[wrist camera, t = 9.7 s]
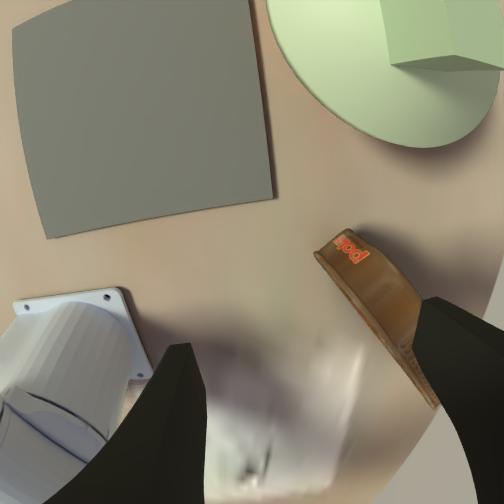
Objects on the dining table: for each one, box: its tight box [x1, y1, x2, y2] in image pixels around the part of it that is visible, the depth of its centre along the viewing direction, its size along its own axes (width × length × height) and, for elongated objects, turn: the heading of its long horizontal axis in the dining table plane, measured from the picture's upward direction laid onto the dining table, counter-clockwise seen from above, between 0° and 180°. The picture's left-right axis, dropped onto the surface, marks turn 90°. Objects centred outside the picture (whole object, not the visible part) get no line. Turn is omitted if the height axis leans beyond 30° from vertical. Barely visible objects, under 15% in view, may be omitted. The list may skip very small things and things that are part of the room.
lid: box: [266, 0, 504, 148], centre depth 8 cm, size 12×12×5 cm
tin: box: [313, 228, 441, 410], centre depth 18 cm, size 15×3×8 cm, turn 40°
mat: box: [12, 0, 273, 239], centre depth 14 cm, size 14×14×1 cm
